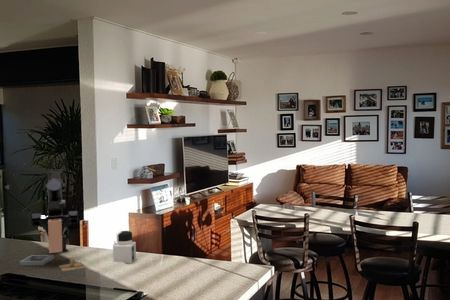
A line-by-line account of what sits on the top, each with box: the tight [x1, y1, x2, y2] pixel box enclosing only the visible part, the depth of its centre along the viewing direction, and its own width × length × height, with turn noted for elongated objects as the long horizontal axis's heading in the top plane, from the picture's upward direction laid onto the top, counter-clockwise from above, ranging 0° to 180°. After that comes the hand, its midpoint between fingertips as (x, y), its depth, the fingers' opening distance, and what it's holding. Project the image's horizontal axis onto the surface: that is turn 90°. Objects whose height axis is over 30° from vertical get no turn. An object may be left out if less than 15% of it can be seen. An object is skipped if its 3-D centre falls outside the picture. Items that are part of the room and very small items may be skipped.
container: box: [112, 230, 137, 265], centre depth 195 cm, size 8×8×13 cm
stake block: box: [58, 257, 86, 272], centre depth 186 cm, size 9×9×4 cm
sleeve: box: [47, 218, 63, 254], centre depth 187 cm, size 5×5×13 cm
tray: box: [19, 254, 55, 266], centre depth 194 cm, size 10×10×2 cm
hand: (55, 235), depth 186 cm, fingers closed on sleeve, 5 cm apart
